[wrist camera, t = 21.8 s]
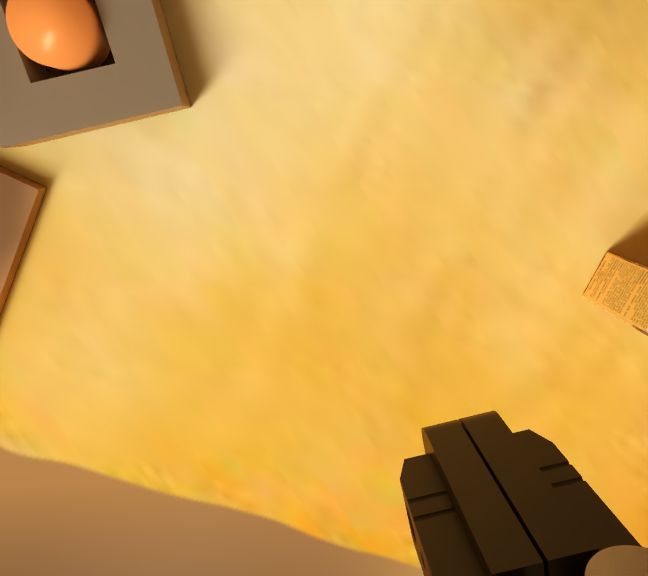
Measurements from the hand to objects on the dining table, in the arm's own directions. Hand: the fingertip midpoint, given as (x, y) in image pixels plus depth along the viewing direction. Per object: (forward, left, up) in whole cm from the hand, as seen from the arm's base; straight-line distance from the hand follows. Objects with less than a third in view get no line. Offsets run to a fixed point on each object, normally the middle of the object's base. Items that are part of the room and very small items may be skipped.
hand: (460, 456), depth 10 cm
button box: (-15, -13, -27) cm, 34 cm away
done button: (-15, -13, -27) cm, 33 cm away
